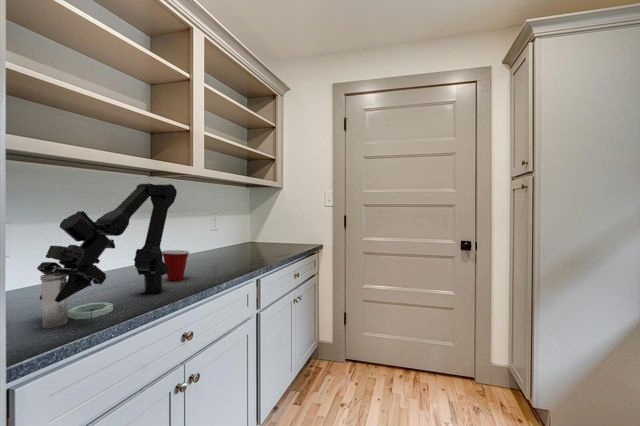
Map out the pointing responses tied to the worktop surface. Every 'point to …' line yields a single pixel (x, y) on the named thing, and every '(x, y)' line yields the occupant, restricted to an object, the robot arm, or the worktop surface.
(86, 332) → the worktop surface
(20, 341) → the worktop surface
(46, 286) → the glass jar
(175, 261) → the plastic cup
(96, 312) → the collar ring
